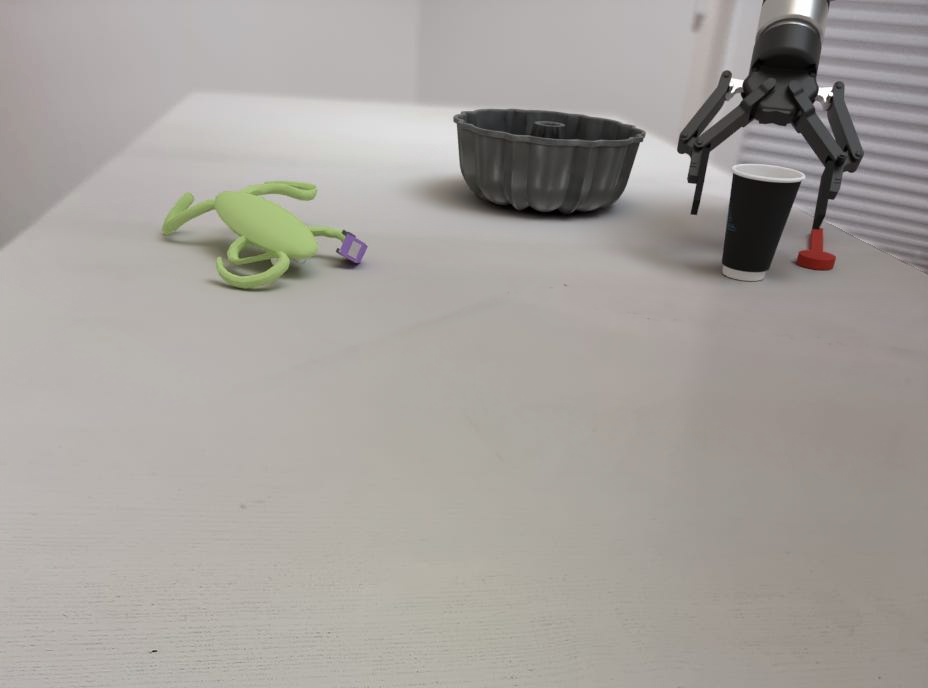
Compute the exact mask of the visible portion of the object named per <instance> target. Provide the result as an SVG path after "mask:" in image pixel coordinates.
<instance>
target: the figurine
mask: <svg viewBox="0 0 928 688" xmlns="http://www.w3.org/2000/svg"><path fill="white" fill-rule="evenodd" d="M317 194H318V187H317V185H315V184H313V183H311V182H305V181H294V180H272V181H271V180H269V181H265V182H264V183H260V184H259V183H258V184H252V185H249V186H246V187H244V188H242V189H240V190H228V191H227V190H226V191H222V192H219V193H218V194H217V195H215V197H214V198H207V199H205V200H203V201H200V202H198V203H196V204H194V205H192V204H193V203H194V201H195V196H194V194H192V193H191V192H189V191H186V192H185V193H183V194H182V195H181V196H180V198H179V199H177V201H176V203H175V204H174V206H173V207H172V208H171V209H170V210H169V211H168V213H167V215H166V216H165V219H164V221H163V224H162V226H161V231H162V233H163V235H165V236H169V235H171V234H172V232H175V231H177V230H178V229H179V228H181V227H182V226H183V225H185V224H186V223H188V222H189V221H191V220H193V219H196V218H198V217H199V216H202V215H204V214H206V213H209V212H211V211H214V210H215V212H216V214H217V215H218V217H219V218H220V219H221V221H222V222H223V223H224V224H225V225H226V226H227V227H228V228H229V229H230V230H231V232H233V233H234V234H236V235H237V236H239V237H238V238H237V239H235V240H234V241H233V242H231V243H230V246H229V247H228V250H226V251H227V252H226V255H227V261H228V262H230V263H232V264H234V265H237V266H238V265H239V266H240V265H246V264H251V263H255V262H260V261H265V260H270V263H271V264H272V266H271V267H270V268H268V269H267V270H266V271H263V272H260V273H257V274H252V275H243V276H240V275H237V274H234V273H231V272H229V271H228V270H227V269H226V267H224V262H223V258H222V257H221V256H218V257H216V260H215V265H216V269H217V273H218V276H219V277H220V278H221V279H222V280H223V281H225V282H226V283H227V284H229V285H231V286H233V287H234V288H238V289H239V288H240V289H243V290H245V289H254V288H259V287H263V286H266V285H269V284H271V283H274V281H276V280H277V279H279V278H280V277H281V276H283V275H284V274H285V272H287V271H288V270H289V267H290V263H291V259H292V260H293V261H294V262H295V263H297V264H305V263H306V259H309V258H310V259H311V258H312V257H315V255H316V254H317V253H318V251H319V245H318V244H319V243H318V240H317V238H316V237H326V238H329V239H337V240H339V241H340V242H341V246H340V248H339V247H336V250H335V253H337V254H338V255H339V256H341V257H343V258H346V259H348V260H350V261H351V262H353V263H355V264H361V263H362V260H363V258H364V256H365V254H366V252H367V249H368V247H369V246H368V245H367V244H366V243H365V242H364V241H362V240H360V239H359V238H357V236H356V235H355V234H354V233H352V232H350V231H347V230H345V229H344V228H343V229H338V228H337V229H336V228H334V227H330V226H309V225H308V226H307V225H306V223H304V222H303V221H302V220H301V219H300V218H299V217H298V216H297V215H295V214H294V213H292V211H289V210H288V209H286V208H285V207H283V206H282V205H280V204H278V203H276V202H274V201H271V200H270V199H267V198H265V197H264V196H265V195H281V196H286V197H290V198H291V199H295V200H297V201H301V202H302V201H303V202H309V201H313V200H315V198H316V196H317ZM262 196H263V197H262ZM191 205H192V206H191ZM250 245H252V246H253V247H256V248H259V249H260V250H263V251H264V252H266V253H261V254H258V255H253V256H248V257H243V258H240V257H239V255H240V254H241V251H243V250H244V249H245V248H247V247H248V246H250Z"/></svg>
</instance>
